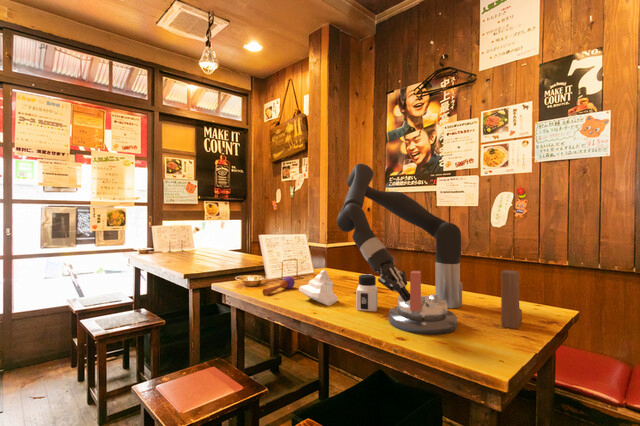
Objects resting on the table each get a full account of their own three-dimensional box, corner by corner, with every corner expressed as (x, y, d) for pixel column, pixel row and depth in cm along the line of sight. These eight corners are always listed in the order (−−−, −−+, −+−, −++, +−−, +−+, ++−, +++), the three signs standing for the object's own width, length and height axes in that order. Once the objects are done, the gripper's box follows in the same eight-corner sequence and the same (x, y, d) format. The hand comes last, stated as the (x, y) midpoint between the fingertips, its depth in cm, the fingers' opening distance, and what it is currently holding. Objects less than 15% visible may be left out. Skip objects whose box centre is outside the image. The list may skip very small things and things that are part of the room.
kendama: (259, 286, 151) (286, 275, 168) (261, 299, 151) (288, 287, 168) (268, 285, 148) (295, 274, 165) (271, 298, 148) (298, 286, 165)
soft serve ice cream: (320, 299, 149) (328, 268, 150) (340, 310, 137) (348, 276, 137) (297, 295, 142) (305, 263, 143) (315, 307, 130) (324, 271, 131)
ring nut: (402, 304, 123) (402, 259, 123) (448, 309, 117) (448, 262, 116) (387, 326, 100) (387, 271, 100) (444, 334, 93) (444, 275, 93)
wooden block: (507, 319, 116) (507, 268, 116) (521, 322, 113) (521, 269, 113) (500, 326, 109) (501, 271, 109) (516, 329, 106) (516, 273, 106)
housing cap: (437, 312, 125) (437, 303, 125) (470, 333, 103) (470, 322, 103) (380, 314, 122) (380, 305, 122) (402, 336, 100) (402, 325, 100)
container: (376, 311, 125) (376, 277, 125) (356, 310, 127) (356, 276, 127) (377, 306, 133) (377, 273, 133) (358, 305, 134) (358, 272, 134)
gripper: (380, 259, 115) (411, 303, 106) (357, 263, 105) (388, 311, 97) (394, 246, 111) (428, 289, 103) (371, 248, 102) (405, 296, 93)
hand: (408, 300), depth 100 cm, fingers closed
